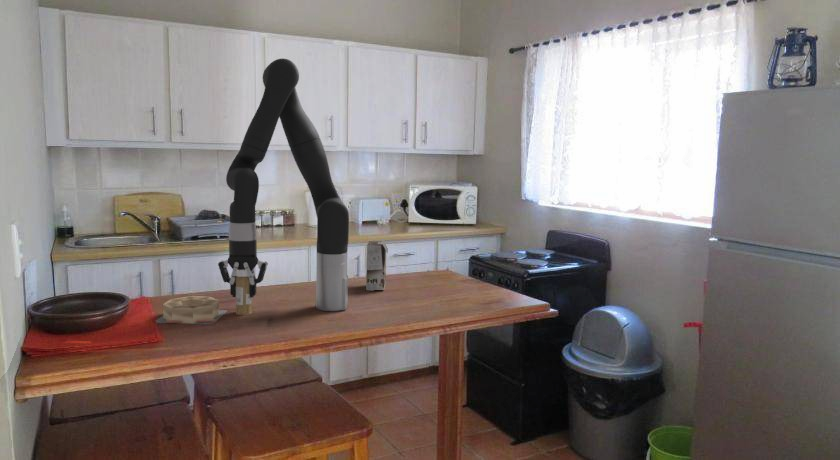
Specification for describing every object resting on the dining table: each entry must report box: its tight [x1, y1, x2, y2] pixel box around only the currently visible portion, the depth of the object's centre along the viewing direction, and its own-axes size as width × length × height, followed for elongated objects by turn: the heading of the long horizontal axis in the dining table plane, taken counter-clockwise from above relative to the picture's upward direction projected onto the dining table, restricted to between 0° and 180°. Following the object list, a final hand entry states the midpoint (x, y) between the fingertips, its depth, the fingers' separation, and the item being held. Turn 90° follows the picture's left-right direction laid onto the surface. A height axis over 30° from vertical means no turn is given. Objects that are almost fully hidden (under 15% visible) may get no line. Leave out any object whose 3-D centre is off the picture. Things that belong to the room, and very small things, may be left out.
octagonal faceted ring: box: [162, 295, 220, 323], centre depth 167 cm, size 14×14×4 cm
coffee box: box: [365, 240, 387, 291], centre depth 210 cm, size 9×6×16 cm
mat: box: [155, 309, 229, 325], centre depth 168 cm, size 16×14×1 cm
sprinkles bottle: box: [235, 269, 253, 316], centre depth 172 cm, size 5×5×14 cm
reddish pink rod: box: [165, 319, 216, 324], centre depth 161 cm, size 12×1×1 cm, turn 101°
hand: (243, 296), depth 172 cm, fingers closed on sprinkles bottle, 4 cm apart
